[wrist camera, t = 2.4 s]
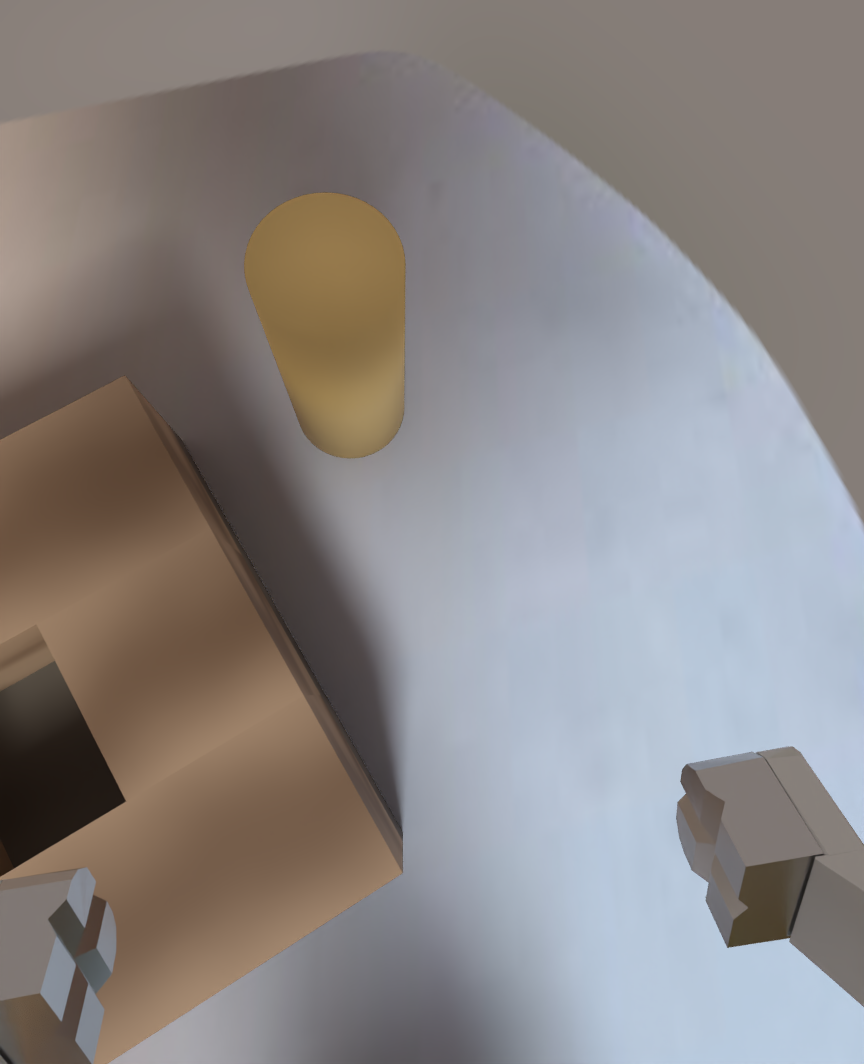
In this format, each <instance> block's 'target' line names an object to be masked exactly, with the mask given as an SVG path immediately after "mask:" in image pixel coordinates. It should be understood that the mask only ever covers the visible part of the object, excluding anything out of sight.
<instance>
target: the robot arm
mask: <svg viewBox="0 0 864 1064" xmlns="http://www.w3.org/2000/svg"><path fill="white" fill-rule="evenodd" d="M680 782H681V784H682V786H683V788H684V790H685V792H686V794H685V795H684V796H683V797H682V798H681V799H680V800H679V801H678V804H677V815H676V820H677V826H678V833H679V838H680V841H681V844H682V848H683V851H684V854H685V856H686V858H687V860H688V863H689V865H690V867H691V870H692V871H693V872H695V873H696V874H698V875H699V876H700V877H702V878H703V879H704V880H706V881H707V882H708V883H709V884H708V890H707V896H706V903H707V905H708V907H709V909H710V911H711V913H712V916H713V918H714V920H715V922H716V924H717V926H718V929H719V931H720V933H721V935H722V937H723V939H724V942H725V944H726V946H727V948H729V947H736V946H742V945H748V944H755V943H761V942H768V941H774V940H781V939H787V938H790V941H789V942H790V943H791V944H792V945H794V946H795V947H796V948H797V949H798V950H799V951H800V952H802V953H803V954H804V955H805V956H806V957H807V958H808V959H810V960H811V961H812V962H813V963H814V964H815V965H816V966H818V967H819V968H820V969H821V970H822V971H823V972H824V973H826V974H827V975H828V976H829V977H830V978H831V979H832V980H834V981H835V982H836V983H837V984H838V985H839V986H840V987H842V988H843V989H844V990H845V991H846V992H847V993H848V994H850V995H851V996H852V997H853V998H854V999H855V1000H856V1001H858V1002H859V1003H860V1004H861V1005H862V1006H863V1007H864V844H863V843H862V841H861V840H860V838H859V837H858V836H857V834H856V833H855V831H854V830H853V828H852V827H851V825H850V824H849V822H848V821H847V819H846V818H845V817H844V815H843V814H842V812H841V811H840V809H839V808H838V806H837V805H836V803H835V802H834V801H833V799H832V798H831V796H830V795H829V793H828V792H827V790H826V789H825V787H824V786H823V785H822V783H821V782H820V780H819V779H818V777H817V776H816V774H815V773H814V771H813V770H812V769H811V767H810V766H809V764H808V763H807V761H806V760H805V758H804V757H803V755H802V754H801V752H799V751H798V750H797V749H795V748H794V747H782V748H777V749H771V750H766V751H761V752H756V753H754V752H749V753H743V754H738V755H732V756H727V757H722V758H716V759H711V760H706V761H700V762H695V763H690V764H686V765H685V767H684V768H683V769H682V775H681V781H680ZM95 884H96V881H95V879H94V878H93V876H92V874H91V873H90V871H89V870H88V868H87V867H85V868H78V869H72V870H65V871H59V872H52V873H45V874H39V875H32V876H26V877H19V878H12V879H4V880H0V1064H93V1062H94V1058H95V1053H96V1048H97V1043H98V1039H99V1034H100V1029H101V1024H102V1020H103V1015H104V1010H105V1009H104V1008H103V1006H102V1004H101V1002H100V1000H99V998H98V996H97V994H96V993H97V992H98V991H99V990H100V988H101V987H102V986H103V985H104V983H105V982H106V981H107V979H108V978H109V977H110V976H111V974H112V971H113V966H114V960H115V955H116V924H115V919H114V915H113V911H112V910H111V908H110V906H109V904H108V902H107V901H106V900H104V899H102V898H99V897H97V896H95V895H93V892H94V888H95Z"/></svg>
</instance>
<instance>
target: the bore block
mask: <svg viewBox="0 0 864 1064" xmlns="http://www.w3.org/2000/svg"><path fill="white" fill-rule="evenodd" d="M85 867H87V868H88V870H89V871H90V873H91V874H92V876H93V878H94V879H95V881H96V884H95V888H94V892H93V895H95V896H97V897H99V898H102V899H104V900H106V901H107V902H108V904H109V906H110V908H111V910H112V911H113V915H114V919H115V924H116V955H115V960H114V966H113V971H112V974H111V976H110V977H109V978H108V979H107V981H106V982H105V983H104V985H103V986H102V987H101V988H100V990H99V991H98V992H97V993H96V994H97V996H98V998H99V1000H100V1002H101V1004H102V1006H103V1008H104V1009H105V1010H104V1015H103V1020H102V1024H101V1029H100V1034H99V1039H98V1043H97V1048H96V1053H95V1058H94V1062H93V1064H108V1063H109V1062H111V1061H112V1060H114V1059H115V1058H117V1057H118V1056H120V1055H122V1054H123V1053H125V1052H126V1051H128V1050H129V1049H131V1048H132V1047H134V1046H136V1045H137V1044H139V1043H140V1042H142V1041H143V1040H145V1039H146V1038H148V1037H149V1036H151V1035H153V1034H154V1033H156V1032H157V1031H159V1030H160V1029H162V1028H163V1027H165V1026H167V1025H168V1024H170V1023H171V1022H173V1021H174V1020H176V1019H177V1018H179V1017H180V1016H182V1015H184V1014H185V1013H187V1012H188V1011H190V1010H191V1009H193V1008H194V1007H196V1006H198V1005H199V1004H201V1003H202V1002H204V1001H205V1000H207V999H208V998H210V997H211V996H213V995H215V994H216V993H218V992H219V991H221V990H222V989H224V988H225V987H227V986H229V985H230V984H232V983H233V982H235V981H236V980H238V979H239V978H241V977H242V976H244V975H246V974H247V973H249V972H250V971H252V970H253V969H255V968H256V967H258V966H260V965H261V964H263V963H264V962H266V961H267V960H269V959H270V958H272V957H273V956H275V955H277V954H278V953H280V952H281V951H283V950H284V949H286V948H287V947H289V946H291V945H292V944H294V943H295V942H297V941H298V940H300V939H301V938H303V937H304V936H306V935H308V934H309V933H311V932H312V931H314V930H315V929H317V928H318V927H320V926H322V925H323V924H325V923H326V922H328V921H329V920H331V919H332V918H334V917H335V916H337V915H339V914H340V913H342V912H343V911H345V910H346V909H348V908H349V907H351V906H353V905H354V904H356V903H357V902H359V901H360V900H362V899H363V898H365V897H366V896H368V895H370V894H371V893H373V892H374V891H376V890H377V889H379V888H380V887H382V886H384V885H385V884H387V883H388V882H390V881H391V880H393V879H394V878H396V877H397V876H399V875H401V874H402V873H403V832H402V831H401V829H400V827H399V825H398V823H397V822H396V820H395V818H394V816H393V815H392V813H391V811H390V809H389V807H388V806H387V804H386V802H385V800H384V799H383V797H382V795H381V793H380V792H379V790H378V788H377V786H376V784H375V783H374V781H373V779H372V777H371V776H370V774H369V772H368V770H367V768H366V767H365V765H364V763H363V761H362V760H361V758H360V756H359V754H358V752H357V751H356V749H355V747H354V745H353V744H352V742H351V740H350V738H349V736H348V735H347V733H346V731H345V729H344V728H343V726H342V724H341V722H340V720H339V719H338V717H337V715H336V713H335V712H334V710H333V708H332V706H331V704H330V703H329V701H328V699H327V697H326V696H325V694H324V692H323V690H322V688H321V687H320V685H319V683H318V681H317V680H316V678H315V676H314V674H313V672H312V671H311V669H310V667H309V665H308V664H307V662H306V660H305V658H304V657H303V655H302V653H301V651H300V649H299V648H298V646H297V644H296V642H295V641H294V639H293V637H292V635H291V633H290V632H289V630H288V628H287V626H286V625H285V623H284V621H283V619H282V617H281V616H280V614H279V612H278V610H277V609H276V607H275V605H274V603H273V601H272V600H271V598H270V596H269V594H268V593H267V591H266V589H265V587H264V585H263V584H262V582H261V580H260V578H259V577H258V575H257V573H256V571H255V569H254V568H253V566H252V564H251V562H250V561H249V559H248V557H247V555H246V553H245V552H244V550H243V548H242V546H241V545H240V543H239V541H238V539H237V537H236V536H235V534H234V532H233V530H232V529H231V527H230V525H229V523H228V522H227V520H226V518H225V516H224V514H223V513H222V511H221V509H220V507H219V506H218V504H217V502H216V500H215V498H214V497H213V495H212V493H211V491H210V490H209V488H208V486H207V484H206V482H205V481H204V479H203V477H202V475H201V474H200V472H199V470H198V468H197V466H196V465H195V463H194V461H193V459H192V458H191V456H190V454H189V452H188V450H187V449H186V447H185V445H184V443H183V442H182V440H181V439H180V438H179V436H178V435H177V434H176V433H175V432H174V431H173V430H172V428H171V427H170V426H169V425H168V424H167V423H166V422H165V420H164V419H163V418H162V417H161V416H160V415H159V414H158V412H157V411H156V410H155V409H154V408H153V407H152V406H151V404H150V403H149V402H148V401H147V400H146V399H145V398H144V396H143V395H142V394H141V393H140V392H139V391H138V390H137V388H136V387H135V386H134V385H133V384H132V383H131V382H130V380H129V379H128V378H127V377H126V376H125V375H124V376H123V377H121V378H119V379H117V380H115V381H113V382H111V383H109V384H107V385H105V386H103V387H101V388H99V389H97V390H95V391H94V392H92V393H90V394H88V395H86V396H84V397H82V398H80V399H78V400H76V401H74V402H72V403H70V404H68V405H66V406H65V407H63V408H61V409H59V410H57V411H55V412H53V413H51V414H49V415H47V416H45V417H43V418H41V419H39V420H37V421H36V422H34V423H32V424H30V425H28V426H26V427H24V428H22V429H20V430H18V431H16V432H14V433H12V434H10V435H8V436H7V437H5V438H3V439H1V440H0V880H4V879H12V878H19V877H26V876H32V875H39V874H45V873H52V872H59V871H65V870H72V869H78V868H85Z"/></svg>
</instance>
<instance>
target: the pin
mask: <svg viewBox="0 0 864 1064" xmlns="http://www.w3.org/2000/svg"><path fill="white" fill-rule="evenodd" d="M244 271H245V278H246V283H247V286H248V289H249V292H250V295H251V297H252V300H253V303H254V305H255V308H256V310H257V313H258V316H259V318H260V321H261V324H262V326H263V329H264V331H265V334H266V337H267V339H268V342H269V345H270V347H271V350H272V352H273V355H274V358H275V360H276V363H277V366H278V368H279V371H280V373H281V376H282V379H283V381H284V384H285V387H286V389H287V392H288V394H289V397H290V400H291V402H292V405H293V408H294V410H295V413H296V415H297V418H298V421H299V423H300V426H301V428H302V430H303V432H304V434H305V435H306V437H307V438H308V439H309V440H310V441H311V443H312V444H314V445H315V446H316V447H317V448H319V449H320V450H322V451H323V452H325V453H328V454H330V455H333V456H336V457H341V458H360V457H365V456H368V455H371V454H373V453H375V452H377V451H379V450H380V449H382V448H383V447H385V446H386V445H387V444H388V443H389V442H390V441H391V440H392V439H393V438H394V436H395V435H396V433H397V432H398V430H399V428H400V426H401V423H402V420H403V415H404V371H405V254H404V250H403V246H402V243H401V241H400V238H399V236H398V234H397V232H396V230H395V229H394V227H393V226H392V224H391V223H390V222H389V220H388V219H387V218H386V217H385V216H384V215H383V214H382V213H380V212H379V211H378V210H377V209H375V208H374V207H373V206H371V205H369V204H368V203H366V202H364V201H362V200H359V199H357V198H354V197H351V196H348V195H344V194H338V193H327V192H325V193H312V194H306V195H303V196H299V197H296V198H293V199H291V200H289V201H286V202H285V203H283V204H281V205H279V206H278V207H276V208H275V209H274V210H272V211H271V212H270V213H269V214H268V215H267V216H266V217H265V218H263V219H262V221H261V222H260V223H259V225H258V226H257V227H256V229H255V230H254V232H253V234H252V236H251V238H250V240H249V243H248V245H247V249H246V253H245V261H244Z"/></svg>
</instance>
